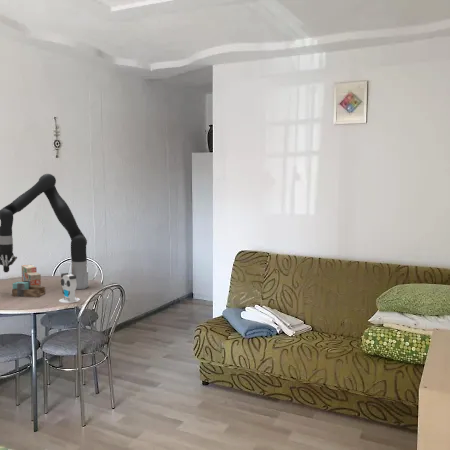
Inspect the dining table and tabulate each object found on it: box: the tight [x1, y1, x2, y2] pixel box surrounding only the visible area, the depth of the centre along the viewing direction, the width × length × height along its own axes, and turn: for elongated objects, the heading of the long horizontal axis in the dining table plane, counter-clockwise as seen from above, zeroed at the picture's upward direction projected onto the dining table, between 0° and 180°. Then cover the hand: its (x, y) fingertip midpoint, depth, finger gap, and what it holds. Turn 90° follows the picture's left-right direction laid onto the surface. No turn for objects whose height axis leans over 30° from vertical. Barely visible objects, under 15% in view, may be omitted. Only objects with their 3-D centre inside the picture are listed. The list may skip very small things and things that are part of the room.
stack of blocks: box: [21, 264, 42, 287], centre depth 304 cm, size 21×6×12 cm, turn 36°
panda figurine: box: [58, 272, 81, 304], centre depth 272 cm, size 12×11×15 cm
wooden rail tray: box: [11, 281, 46, 298], centre depth 282 cm, size 16×8×8 cm, turn 85°
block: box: [12, 281, 29, 290], centre depth 283 cm, size 7×5×6 cm
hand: (6, 272), depth 283 cm, fingers closed
